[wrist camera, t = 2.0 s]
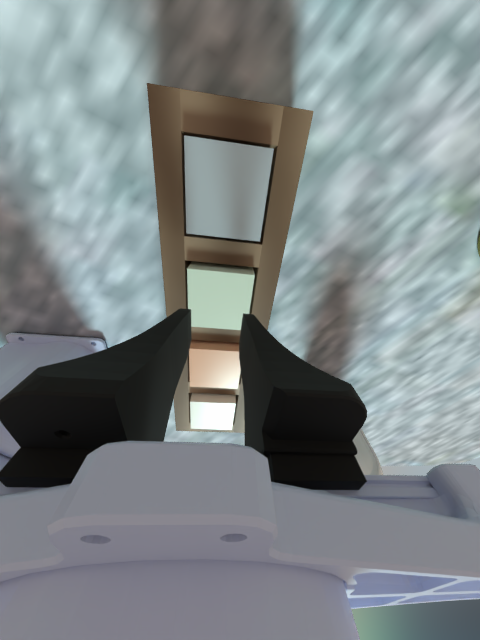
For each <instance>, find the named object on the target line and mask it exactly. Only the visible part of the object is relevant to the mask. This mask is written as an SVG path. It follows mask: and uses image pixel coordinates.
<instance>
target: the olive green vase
mask: <svg viewBox="0 0 480 640" xmlns="http://www.w3.org/2000/svg"><path fill="white" fill-rule="evenodd" d="M478 253H479V256H480V235H479V239H478Z"/></svg>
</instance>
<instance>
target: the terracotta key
mask: <svg viewBox="0 0 480 640" xmlns="http://www.w3.org/2000/svg"><path fill="white" fill-rule="evenodd" d="M240 371H241V368H240V360H239V343H234V342H219V341H205V340H191V345H190V349H189V372H190V387H209V388H229V389H238V385H239V378H240Z"/></svg>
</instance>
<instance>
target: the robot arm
mask: <svg viewBox="0 0 480 640" xmlns="http://www.w3.org/2000/svg"><path fill="white" fill-rule="evenodd" d="M5 337H6V339H7V341H8V344H6V345H4V346H3V347H1V348H0V640H360V638H359V635H358V631H357V628H356V624H355V621H354V618H353V614H352V611H351V609H355V608H366V607H377V606H389V605H400V604H413V603H424V602H437V601H450V600H467V599H480V470H479V469H478V468H477V467H476V466H475V465H471V464H441V465H438V466H436V467H434V468H432V469H431V470H430V471H429V472H428V473H427V475H426V476H407V475H405V476H403V475H364V474H363V472H362V470H361V468H360V466H359V464H358V462H357V459H356V457H355V455H356V454H357V448H356V446H355V444H354V442H353V439H354V438H355V436H356V435H357V433H358V432H359V430H360V429H361V427H362V426H363V424H364V422H365V420H366V418H367V410H366V408H365V405H364V404H363V402H362V401H361V399H360V397H359V396H358V394H357V393H356V391H355V390H354V388H353V387H352V385H351V384H349V383H347V382H345V381H343V380H340V379H338V378H336V377H333V376H331V375H329V374H327V373H325V372H323V371H321V370H319V369H317V368H315V367H314V366H312V365H310V364H308V363H307V362H305V361H304V360H302V359H300V358H299V357H297V356H296V355H294V354H293V353H292V352H290V351H289V350H288V349H287V348H285V347H284V346H283V345H282V344H280V343H279V342H278V341H277V340H276V339H275V338H274V337H273V336H272V335H271V334H270V333H269V332H268V331H267V330H266V329H265V327H264V326H263V325H262V324H261V323H260V321H259V320H258V319H257V318H256V316H255V315H254V314H244V313H243V317H242V325H241V332H240V340H239V360H240V368H241V376H242V384H243V392H244V420H245V446H243V445H237V444H231V443H194V442H163V441H164V437H165V432H166V428H167V423H168V419H169V415H170V410H171V406H172V402H173V398H174V394H175V391H176V388H177V385H178V382H179V379H180V377H181V374H182V371H183V368H184V365H185V363H186V360H187V357H188V354H189V349H190V345H191V340H192V335H191V309H182V308H180V309H178V310H177V311H175V312H174V313H173V314H171V315H170V316H168V317H167V318H165V319H164V320H163V321H161V322H160V323H158V324H157V325H155V326H153V327H152V328H150V329H148V330H147V331H145V332H143V333H141V334H139V335H138V336H136V337H133V338H131V339H129V340H127V341H125V342H122V343H120V344H117V345H115V346H112V347H110V348H107V347H106V343H105V341H104V340H103V339H100V338H85V337H70V336H55V335H40V334H25V333H9V334H7V335H6V336H5ZM94 342H95V343H94Z"/></svg>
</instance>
